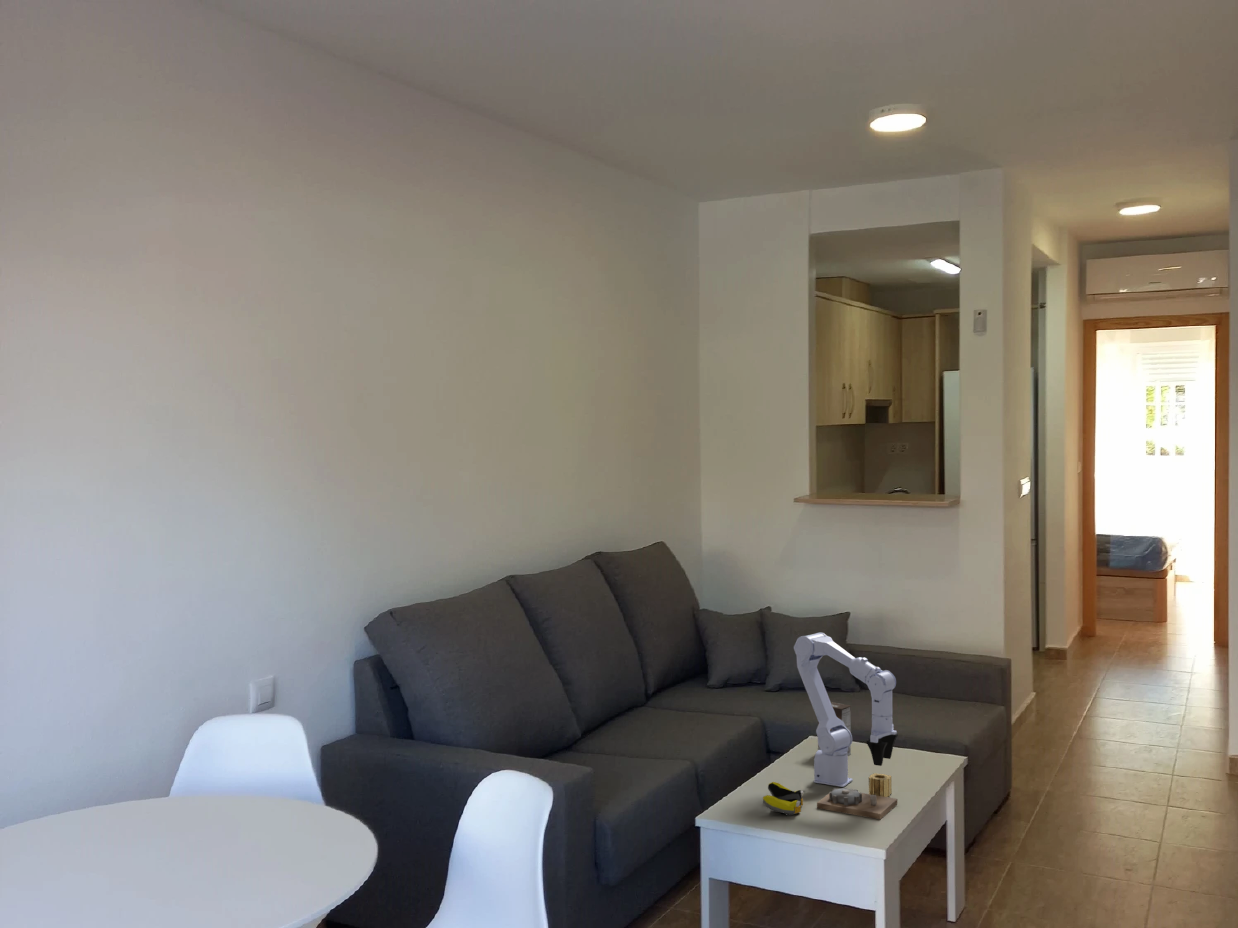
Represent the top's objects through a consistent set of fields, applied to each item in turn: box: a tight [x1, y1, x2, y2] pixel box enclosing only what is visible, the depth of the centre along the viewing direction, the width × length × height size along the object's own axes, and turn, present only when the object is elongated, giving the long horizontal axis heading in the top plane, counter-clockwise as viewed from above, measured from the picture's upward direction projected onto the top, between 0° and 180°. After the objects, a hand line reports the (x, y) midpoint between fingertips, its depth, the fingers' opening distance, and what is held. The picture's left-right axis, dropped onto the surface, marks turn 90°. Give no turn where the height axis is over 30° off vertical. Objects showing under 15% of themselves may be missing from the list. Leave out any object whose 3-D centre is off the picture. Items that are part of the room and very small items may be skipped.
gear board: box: [816, 787, 898, 820], centre depth 299 cm, size 18×14×4 cm
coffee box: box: [817, 701, 852, 756], centre depth 349 cm, size 9×6×16 cm
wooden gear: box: [868, 772, 892, 797], centre depth 309 cm, size 6×6×5 cm
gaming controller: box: [762, 781, 804, 816], centre depth 298 cm, size 15×6×10 cm
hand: (882, 761), depth 309 cm, fingers open, 7 cm apart
